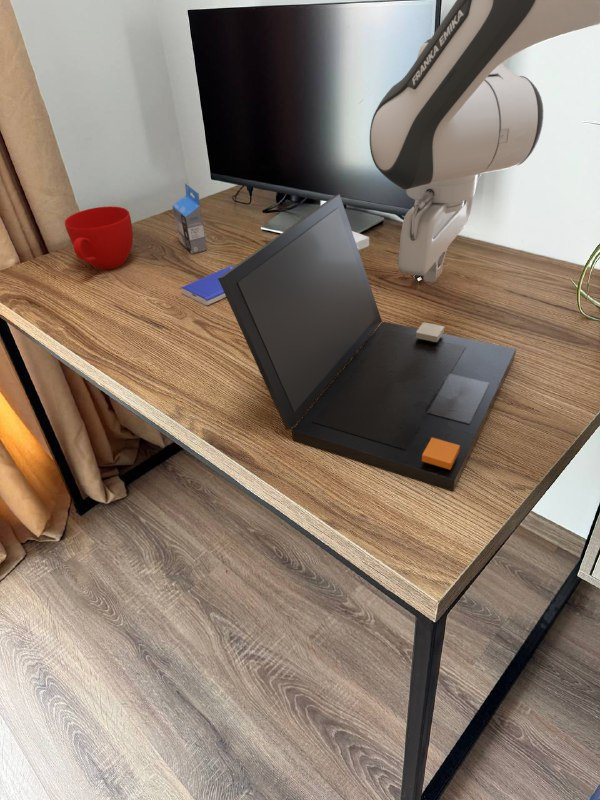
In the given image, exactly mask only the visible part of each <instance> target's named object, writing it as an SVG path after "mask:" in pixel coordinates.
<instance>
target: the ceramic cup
mask: <svg viewBox="0 0 600 800" xmlns="http://www.w3.org/2000/svg"><path fill="white" fill-rule="evenodd" d="M64 227H65V230H66V232H67V234H68V235H67V236H68V238H69V239H70V242H71V244H72V246H73V250H74V251H73V252H74V254H75V255H76V257H77V258H78V259H79V260H80V261H83V262H86V263H88V264H89V265H91V266H93V267H94V268H95V269H97V270H111V269H115V268H118V267H121V266H123V265H124V264H125V263H126V260H127V258H128V257H129V255H130V253H131V250H132V248H133V241H134V233H133V232H134V231H133V225H132V218H131V213H130V212H129V210H128V209H127V208H125V207H120V206H113V205H112V206H110V205H109V206H97V207H92V208H87V209H83V210H80V211H78V212H75V213H73V214H71V215H70V216H68V217H67V218H66V219H65V220H64Z"/></svg>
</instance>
